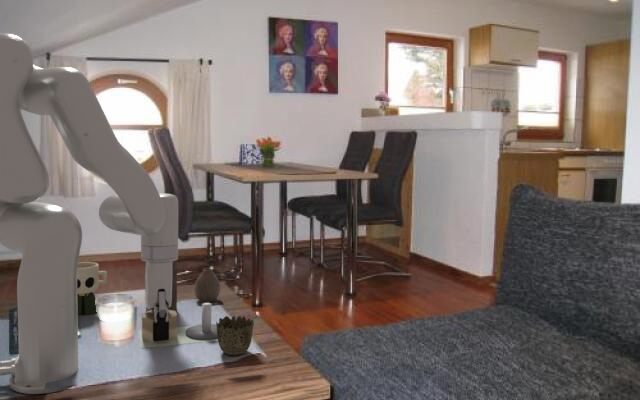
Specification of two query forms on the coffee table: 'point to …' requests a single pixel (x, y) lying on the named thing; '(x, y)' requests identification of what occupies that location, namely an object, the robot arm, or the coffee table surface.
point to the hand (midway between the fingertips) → (159, 333)
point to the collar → (148, 326)
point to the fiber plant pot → (234, 335)
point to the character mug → (88, 286)
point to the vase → (207, 286)
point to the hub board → (190, 332)
